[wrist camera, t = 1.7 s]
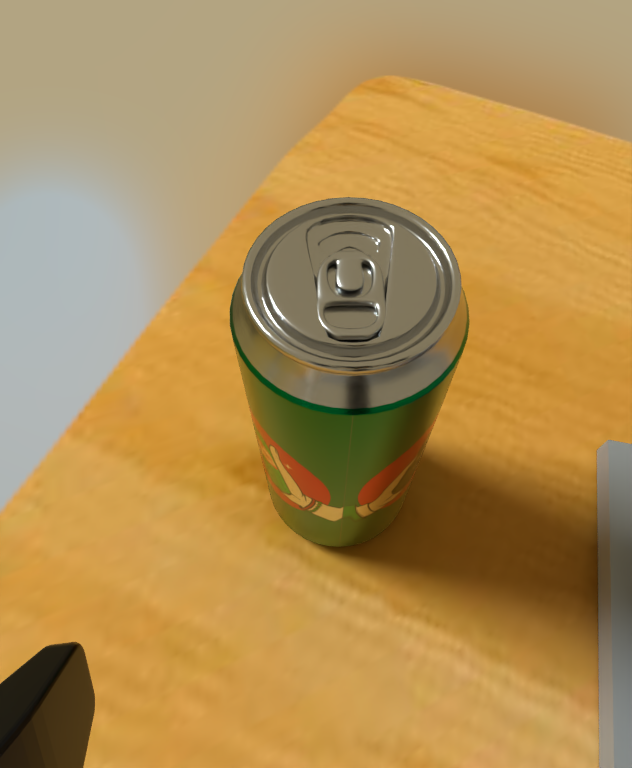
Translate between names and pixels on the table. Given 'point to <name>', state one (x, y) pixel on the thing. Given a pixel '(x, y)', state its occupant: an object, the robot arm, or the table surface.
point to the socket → (615, 603)
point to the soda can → (346, 359)
